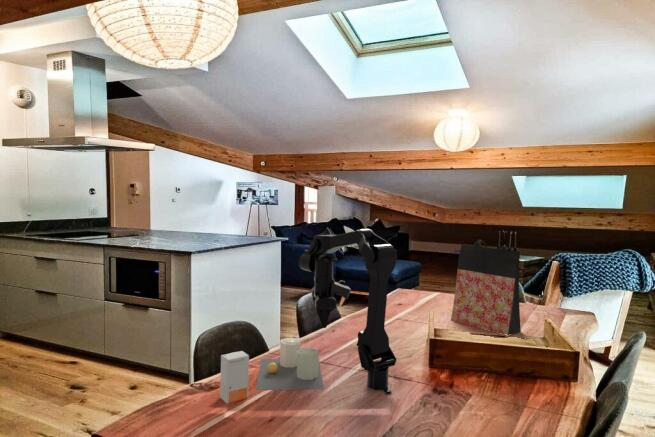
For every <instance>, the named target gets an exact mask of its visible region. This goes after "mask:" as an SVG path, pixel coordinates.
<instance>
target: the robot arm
mask: <svg viewBox="0 0 655 437" xmlns="http://www.w3.org/2000/svg"><path fill="white" fill-rule="evenodd" d="M309 244H310V245H309V246H308V249H304V250H303V253H302V254H301V255H300V257H299V259H298V260H297V261H298V262H297V263H298V267H299V268H300V269H301V270H303V271H307V272H311V273H314V276H313V280H314V286H313V287H312V288H311V298H312V301H313V304H314V306H315V310H316V313H317V316H318V319H319V322H320V324H321V326H322V329H326V328H327V326H328V322H329V318H330V315H331V312H333V311H334V310H336V309H337V306H338V305H337V303H338V302H337V300H336V298H335V295H336V296H339V297H342V298H344V299H349V296H350V293H351V290H352V289H351V288H350V286H348V285H346V282H345V280H342V279H340V280H339V281H335V279H334V274H333V273H334V263H336V262H338V258H337V257H336V256H335V255H334V254H333V253H335V252H336V251H339V250H340V249H341V248H344V247H349V246H355V245H357V247H358V252H359V254H360V255H361V256H362V257H363V258H364V260H365V262H364V264H365V269H366V270H367V272H368V275H369V287H368V297H367V298H368V300H367V312H366V314H367V315H366V323H365V324H366V325H365V328H364V330H361V331H358V333H357V343H356V347H357V353H358V358H359V363H360V366H361V368H362V369H363V370H364V371H365V372H366V371H367V376H366V377H367V378H366V379H367V380H366V386H367V387H368V388H369V389H371V390H373V391H383V393H384V394H392V389H391V387H390V385H389V369H390V367H394V366H396V363H397V358H396V356H395V354H394V351H392V349H391V347H390V338H389V335H388V333H387V332H386V329H385V326H386V325H385V322H386V314H387V302H388V300H387V299H388V298H387V297H388V288H389V287H388V286H389V280H390V279H389V278H390V276H391V275H392V274H393V271H394V270H395V268H396V263H397V260H398V252H397V250H396V248H395V247H394V245H392V244H390V243H389V242H388V241H387V240H386V239H384V238H382V237H381V236H379V235H378V234H376V233H375V232H374V230H372V229H370V228H361V229H356V230H353V231H348V232H345V233H340V234H324V235H323V234H322V235H320V234H319V235H315V236H313V238H312V240H311V242H310V243H309Z"/></svg>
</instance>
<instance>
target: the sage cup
mask: <svg viewBox="0 0 655 437" xmlns="http://www.w3.org/2000/svg"><path fill="white" fill-rule="evenodd" d="M319 355H320V354H319V349H316V348H313V347H302V348H301V347H300V349H299V350H297V378H300V379H302V380H313V379H315V378H317V377H318V361H319V362H320V358H319Z"/></svg>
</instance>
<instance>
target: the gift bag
mask: <svg viewBox="0 0 655 437" xmlns="http://www.w3.org/2000/svg"><path fill="white" fill-rule="evenodd" d="M481 242H482V243H483V244H484V245H485V246H482V243H481ZM453 253H459V254H458V260H457V263H458V264H457V271H456V279H455V280H456V282H455V288H454V289H455V291H454V297H453V306H452V311H451V312H452V313H451V317H450V318H451V319H450V321H451V322H457V323H460V324H462V325H467V326H469V327H473V328H478V329H480V328H481V329H480V330H484V329H486V330H485V331H487V330H490V331H489V332H491V331H494V332H498V333H502V334H507V335H509V334H513V335H515V334H517V332H518V333H520V332H521V331H522V328H521V315H520V310H521V309H520V258H521V257H520V256H521V251H518V250H509V249H507V245H506V244H504V245H501V246H498V247H497V248H492V247H488V246H487V245H486V243H485V242H484V241H483V240H482V239H478V240H476V242H474V244H473V245H468V244H461V245H460V249H456V248H453ZM494 332H493V333H494ZM498 333H497V334H498ZM514 333H515V334H514Z"/></svg>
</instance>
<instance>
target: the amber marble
mask: <svg viewBox="0 0 655 437" xmlns="http://www.w3.org/2000/svg"><path fill="white" fill-rule="evenodd" d="M267 369H268V371H269V372H270V373H275V372H277V370H278V366H277V364H276V363H273V362H272V363H270V364H269V365H268V367H267Z"/></svg>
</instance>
